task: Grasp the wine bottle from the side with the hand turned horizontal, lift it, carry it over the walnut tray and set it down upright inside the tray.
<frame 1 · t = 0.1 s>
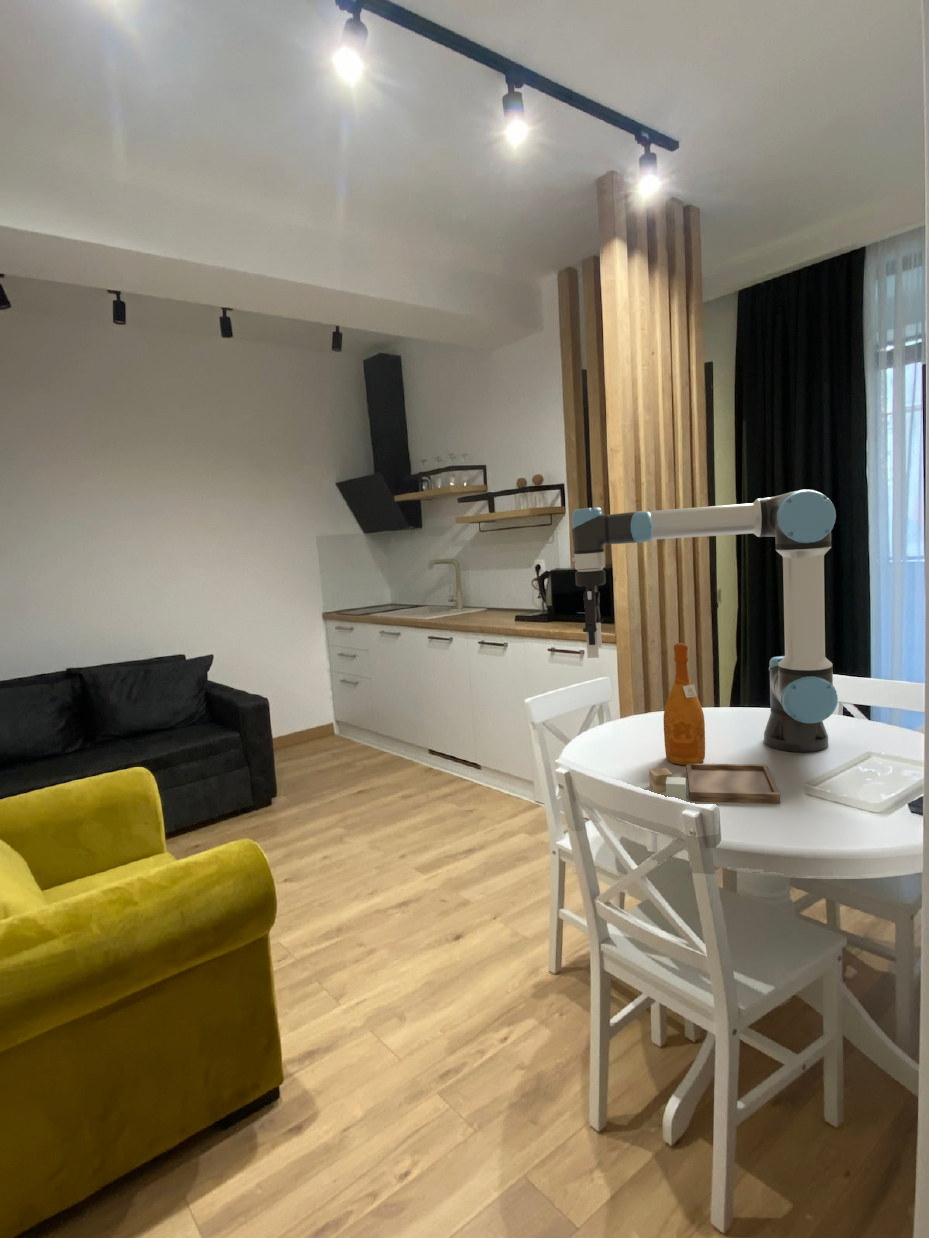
hand: (595, 652, 177), 28 cm above the table, tool pointing down, fingers open, 13 cm apart
wine bottle: (685, 760, 174), on the table
tray: (730, 786, 155), on the table
pale grey cube: (676, 797, 152), on the table
oak block A: (661, 788, 158), on the table
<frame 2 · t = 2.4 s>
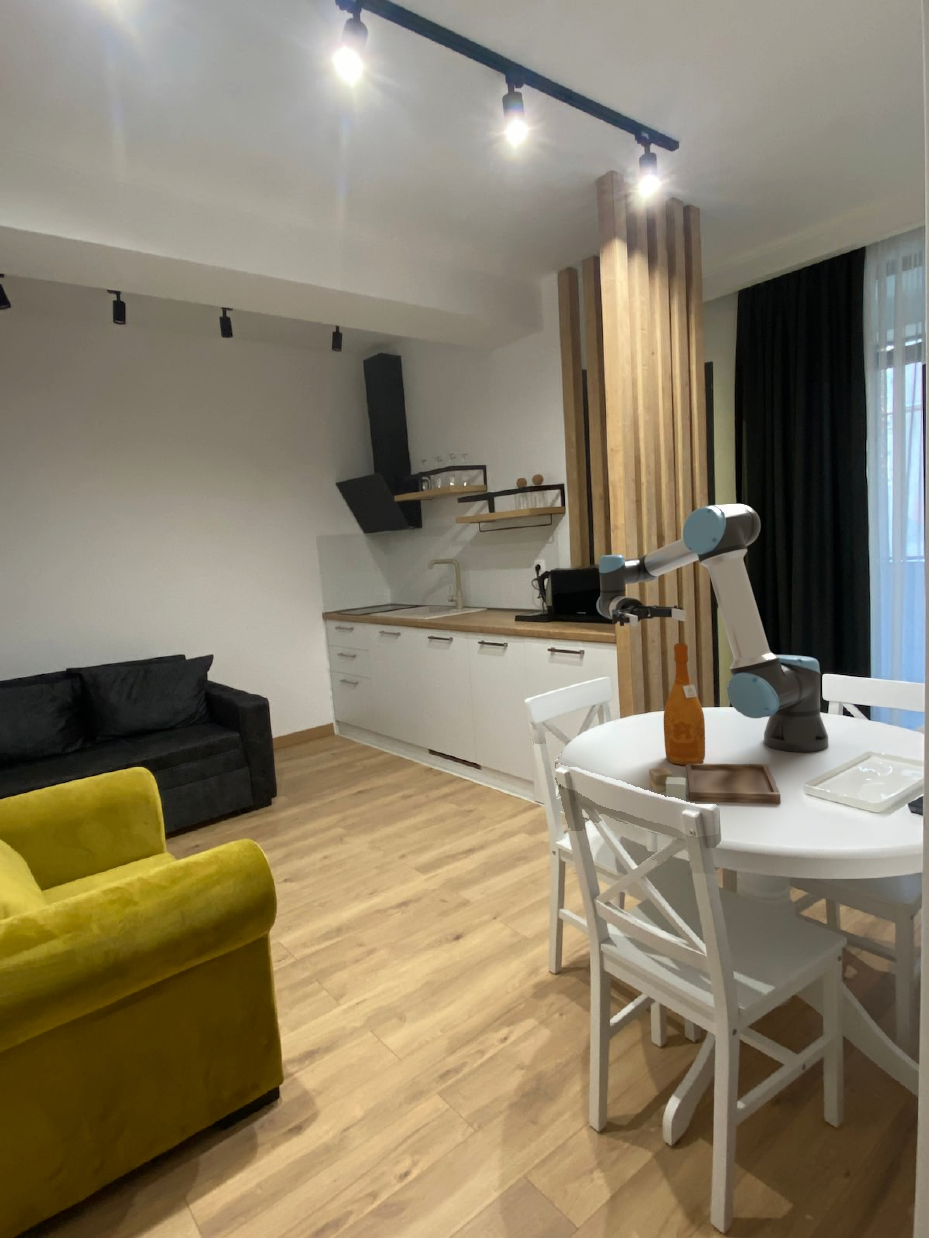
hand: (660, 618, 179), 35 cm above the table, tool horizontal, fingers open, 13 cm apart
nothing on the table moved.
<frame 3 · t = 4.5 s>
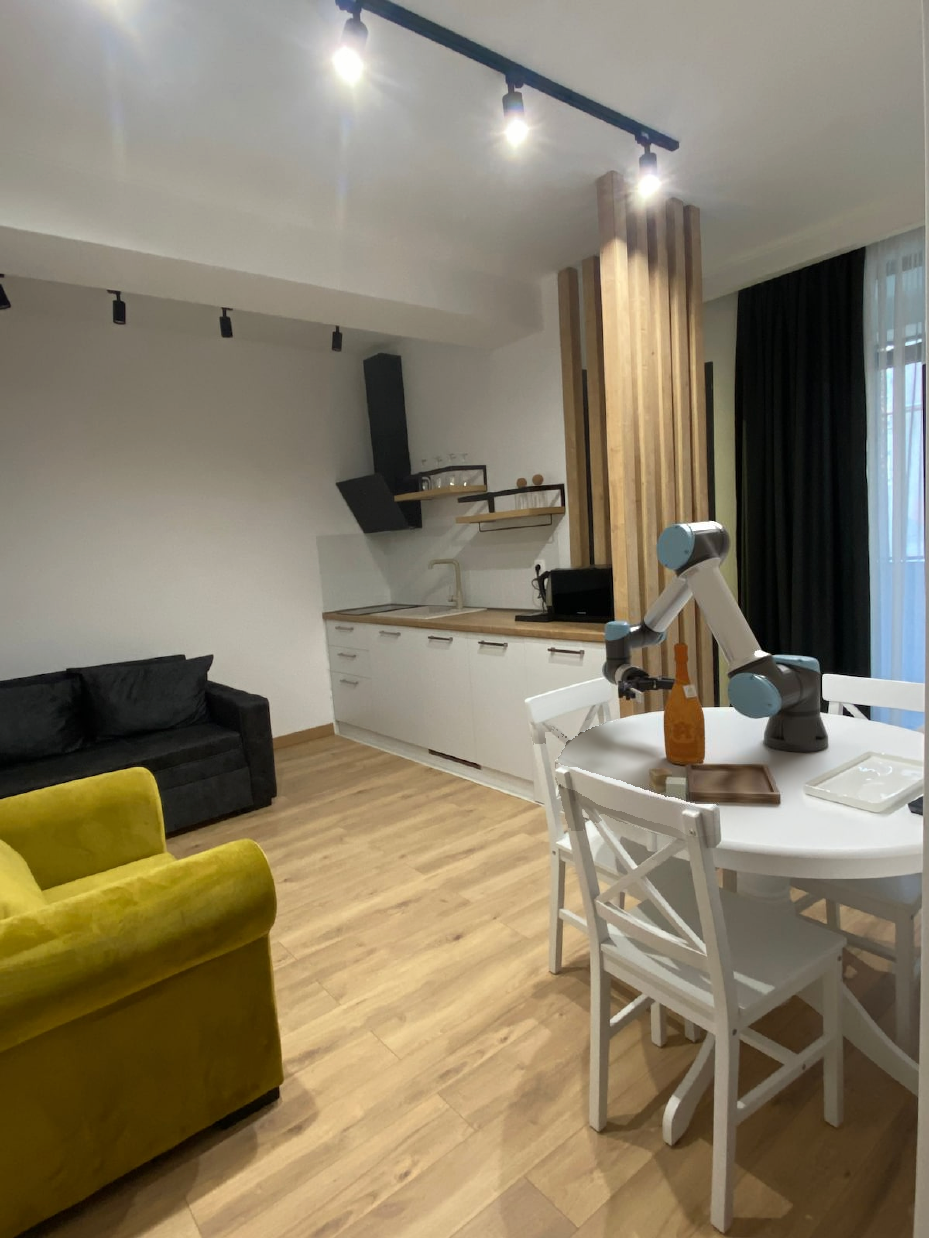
hand: (666, 695, 180), 15 cm above the table, tool horizontal, fingers open, 13 cm apart
nothing on the table moved.
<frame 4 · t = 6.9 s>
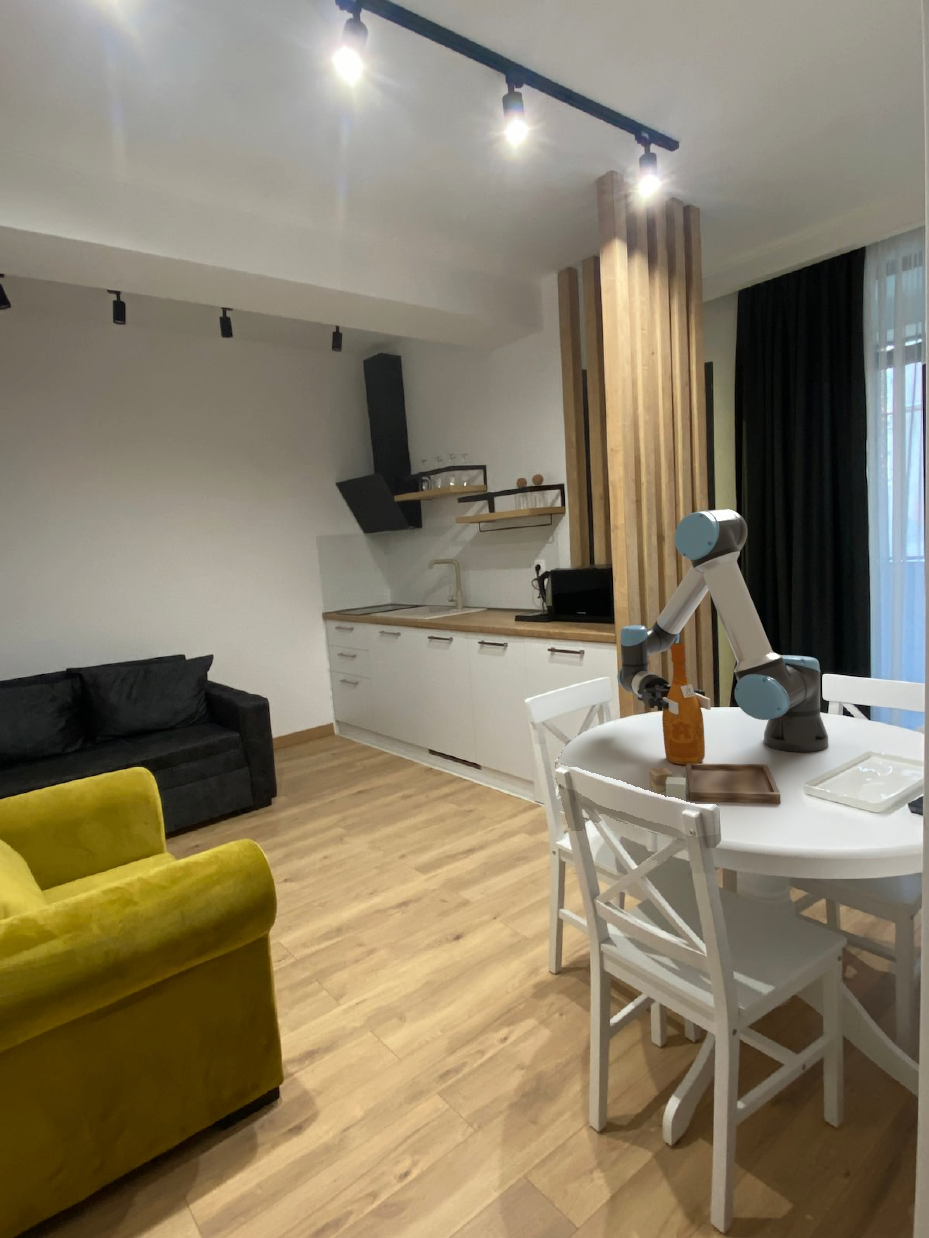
hand: (692, 706, 167), 15 cm above the table, tool horizontal, fingers closed on wine bottle, 8 cm apart
wine bottle: (685, 760, 174), on the table, touching gripper
everything else where it was.
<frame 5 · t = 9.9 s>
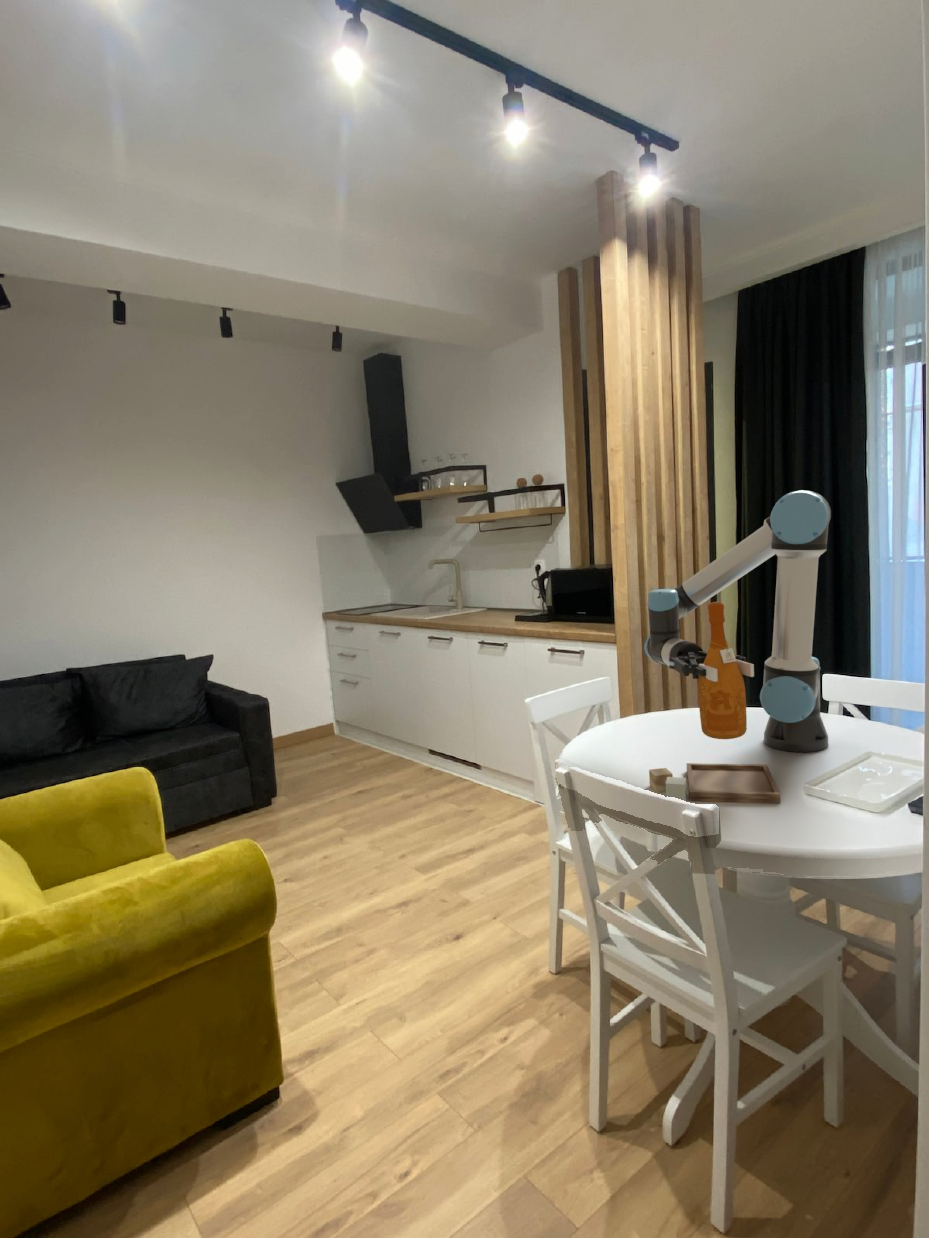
hand: (734, 672, 148), 27 cm above the table, tool horizontal, fingers closed on wine bottle, 8 cm apart
wine bottle: (724, 734, 155), point 12 cm above the table, touching gripper
everything else where it was.
when the fingers open (17 cm above the table, at t = 12.7 s): wine bottle drops 2 cm, resting on tray.
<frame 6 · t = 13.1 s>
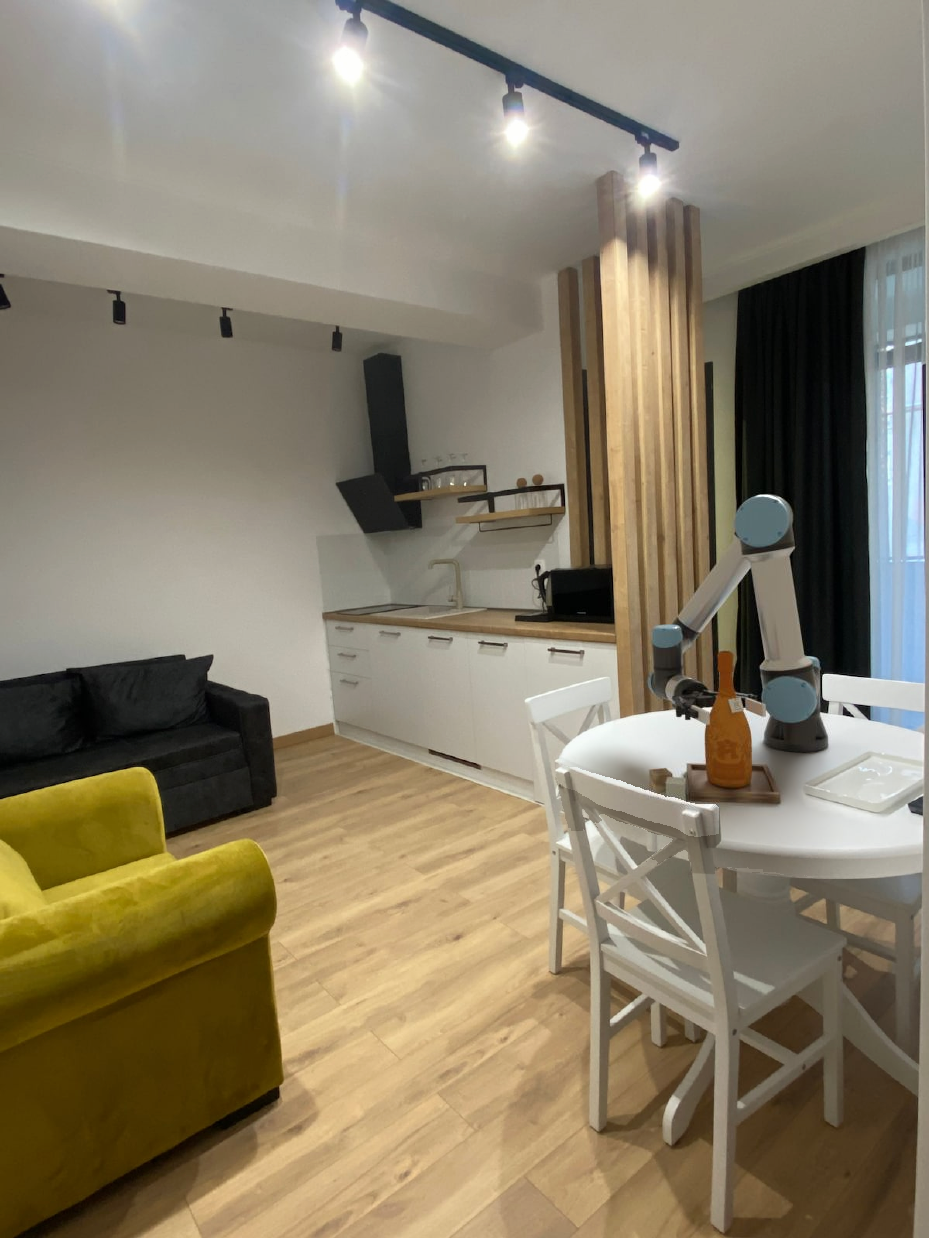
hand: (736, 714, 150), 17 cm above the table, tool horizontal, fingers open, 13 cm apart
wine bottle: (729, 782, 155), point 1 cm above the table, touching tray
everything else where it was.
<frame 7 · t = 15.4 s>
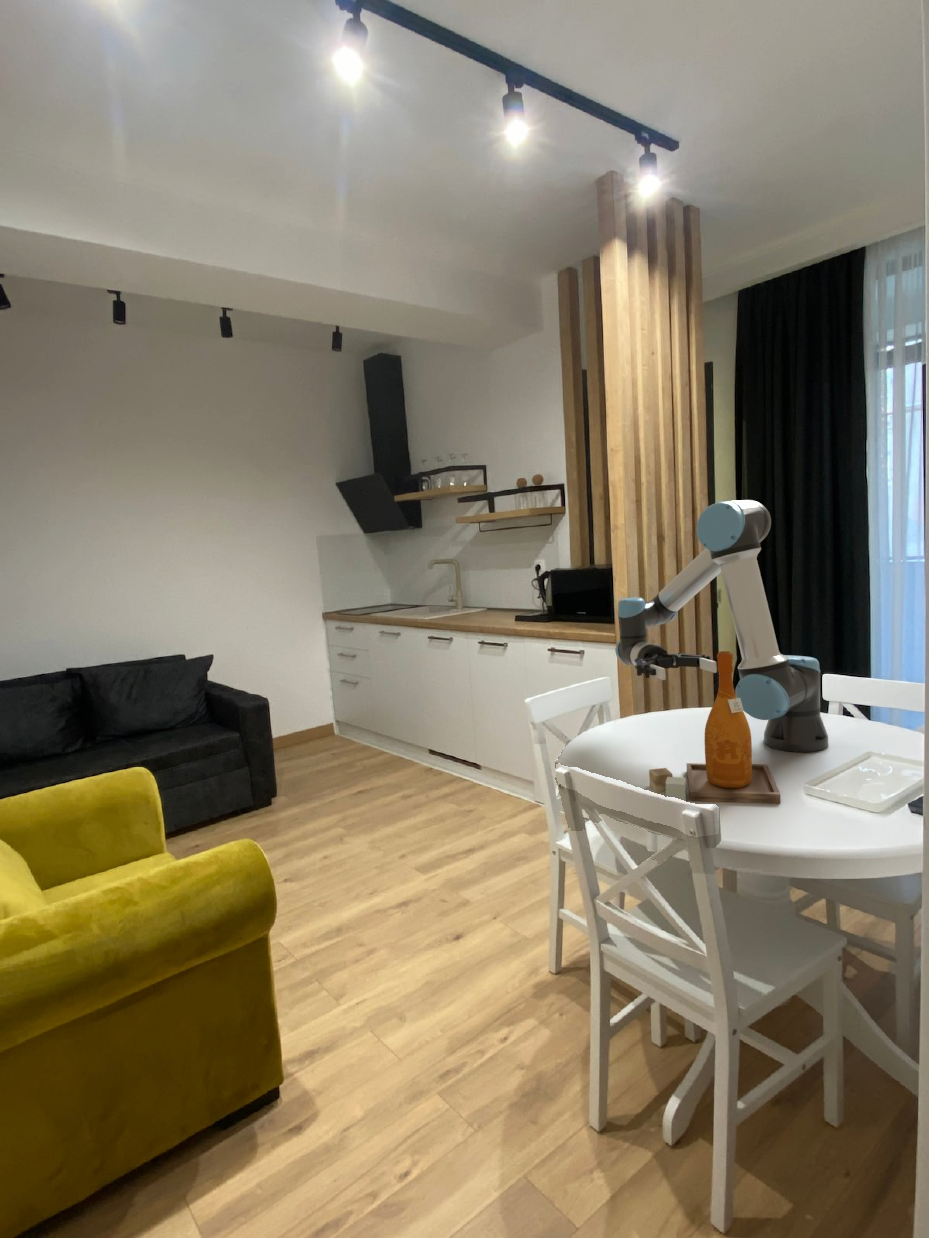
hand: (689, 670, 168), 24 cm above the table, tool horizontal, fingers open, 13 cm apart
nothing on the table moved.
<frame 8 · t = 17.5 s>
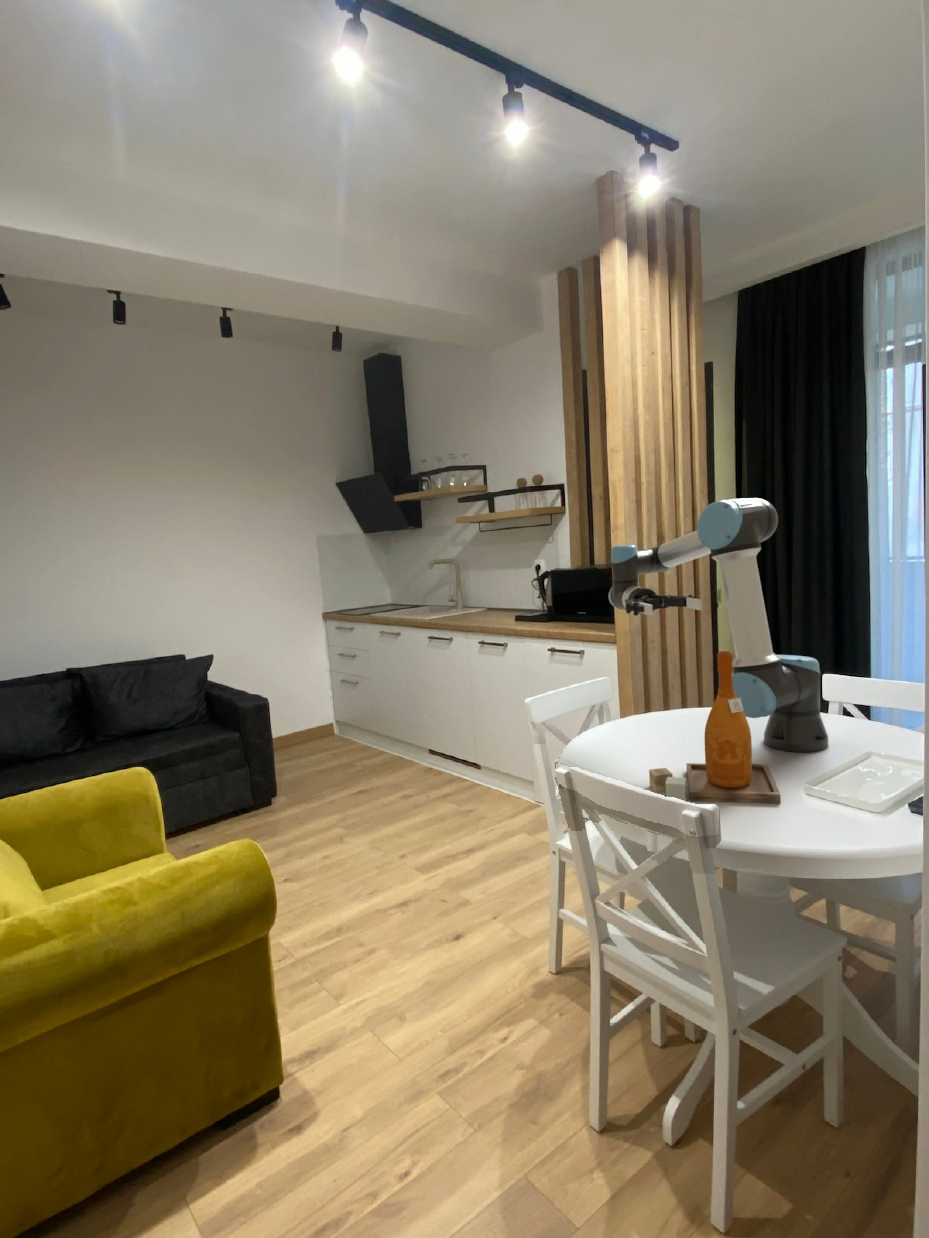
hand: (676, 607, 176), 38 cm above the table, tool horizontal, fingers open, 13 cm apart
nothing on the table moved.
at the end: wine bottle inside the target area on the tray (0.3 cm from its centre), point 0.8 cm above the tray's base; wine bottle tilted 0°; the gripper is holding nothing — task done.
